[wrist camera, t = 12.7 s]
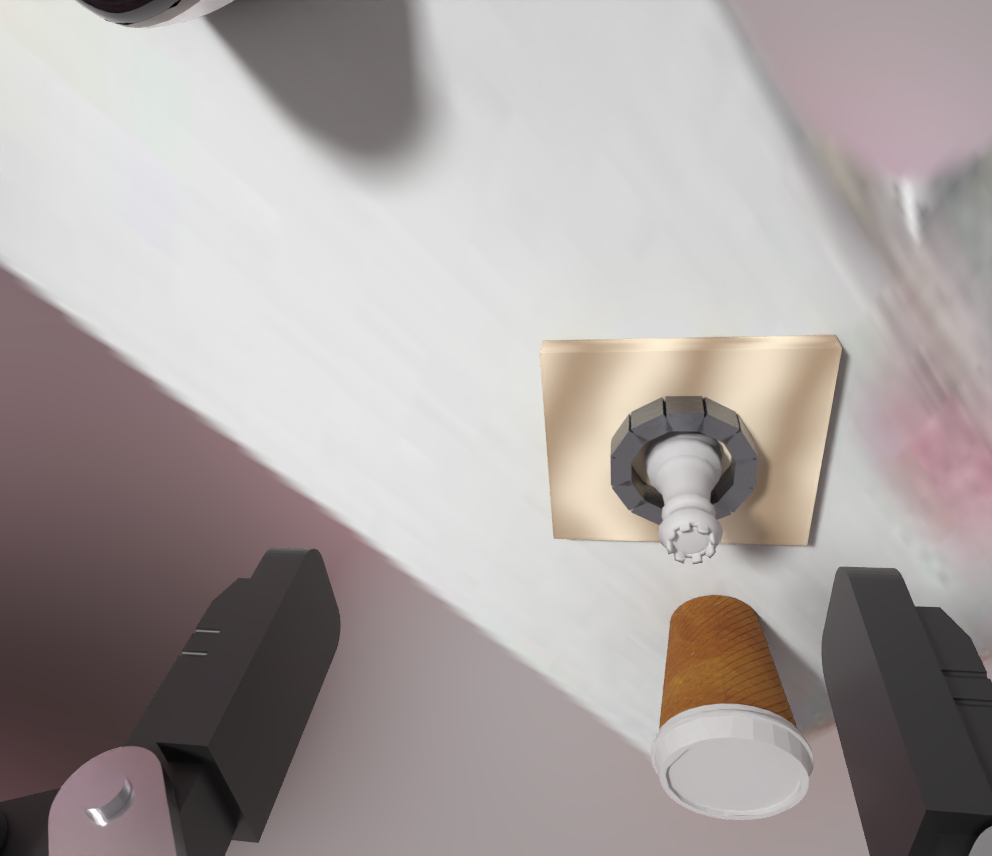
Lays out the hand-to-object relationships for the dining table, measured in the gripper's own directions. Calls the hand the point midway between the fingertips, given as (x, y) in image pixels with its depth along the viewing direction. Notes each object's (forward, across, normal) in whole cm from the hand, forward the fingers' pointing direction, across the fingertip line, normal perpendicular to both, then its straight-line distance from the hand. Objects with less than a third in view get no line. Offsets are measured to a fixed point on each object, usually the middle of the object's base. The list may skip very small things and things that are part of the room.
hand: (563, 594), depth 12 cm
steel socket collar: (+29, -4, +18) cm, 34 cm away
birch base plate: (+30, -4, +18) cm, 35 cm away
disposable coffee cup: (+30, -7, +34) cm, 46 cm away
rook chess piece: (+29, -4, +18) cm, 34 cm away
